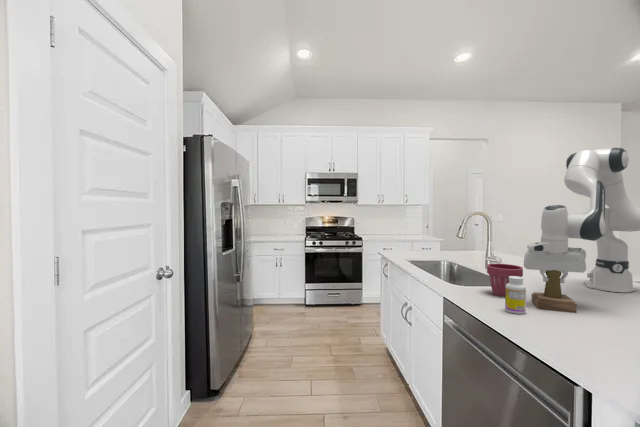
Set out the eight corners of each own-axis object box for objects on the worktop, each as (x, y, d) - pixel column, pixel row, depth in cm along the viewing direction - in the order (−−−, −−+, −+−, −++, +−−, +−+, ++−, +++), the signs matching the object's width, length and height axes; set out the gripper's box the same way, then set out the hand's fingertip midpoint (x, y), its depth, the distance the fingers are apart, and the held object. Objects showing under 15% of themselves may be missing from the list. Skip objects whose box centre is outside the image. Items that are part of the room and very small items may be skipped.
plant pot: (521, 300, 144) (522, 270, 144) (484, 295, 152) (485, 266, 151) (522, 293, 156) (523, 265, 156) (488, 289, 164) (488, 262, 163)
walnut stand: (531, 301, 143) (531, 291, 143) (565, 304, 139) (566, 294, 139) (538, 309, 132) (538, 298, 132) (576, 312, 128) (576, 301, 128)
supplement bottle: (508, 308, 133) (509, 274, 133) (528, 311, 129) (528, 277, 128) (502, 311, 129) (503, 277, 128) (522, 315, 124) (523, 279, 124)
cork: (557, 294, 138) (558, 267, 138) (565, 298, 132) (566, 270, 132) (540, 293, 139) (541, 266, 139) (547, 297, 133) (548, 269, 133)
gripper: (583, 247, 135) (582, 282, 135) (523, 244, 142) (522, 278, 142) (589, 249, 129) (588, 286, 129) (526, 246, 136) (525, 281, 136)
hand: (553, 282), depth 135 cm, fingers closed on cork, 4 cm apart
